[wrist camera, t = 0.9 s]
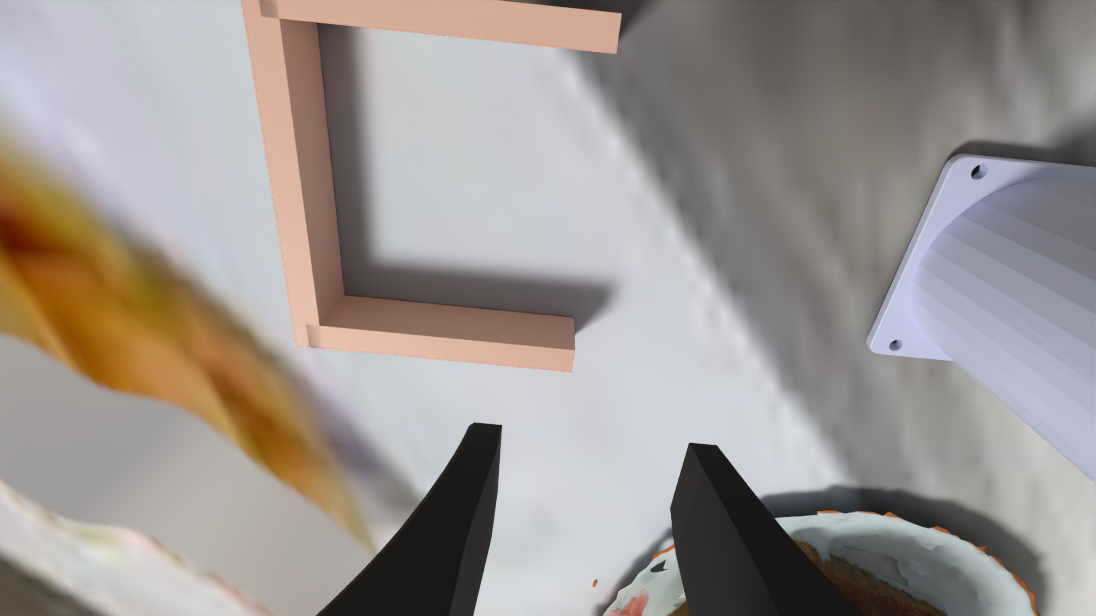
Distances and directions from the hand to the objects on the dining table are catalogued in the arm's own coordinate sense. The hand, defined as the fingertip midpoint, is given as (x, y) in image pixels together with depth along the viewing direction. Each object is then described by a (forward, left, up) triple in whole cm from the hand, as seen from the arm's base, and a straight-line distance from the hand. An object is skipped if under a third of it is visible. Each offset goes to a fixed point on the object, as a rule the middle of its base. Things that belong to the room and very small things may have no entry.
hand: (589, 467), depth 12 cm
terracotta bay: (+5, -3, -10) cm, 12 cm away
